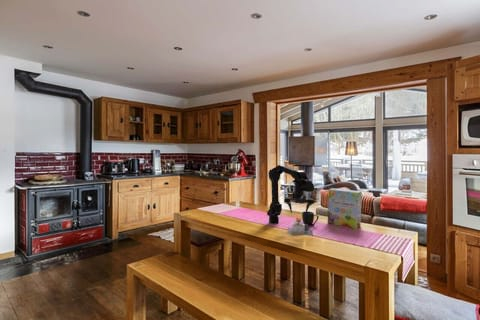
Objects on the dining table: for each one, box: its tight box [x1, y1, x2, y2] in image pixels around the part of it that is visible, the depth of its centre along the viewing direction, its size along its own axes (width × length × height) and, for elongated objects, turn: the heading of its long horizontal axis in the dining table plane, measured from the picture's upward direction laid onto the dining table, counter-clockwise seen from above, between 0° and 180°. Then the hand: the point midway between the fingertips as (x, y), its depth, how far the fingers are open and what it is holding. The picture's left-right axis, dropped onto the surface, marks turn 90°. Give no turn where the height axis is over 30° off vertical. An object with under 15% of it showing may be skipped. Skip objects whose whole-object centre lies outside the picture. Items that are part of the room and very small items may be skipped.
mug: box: [301, 210, 320, 227], centre depth 191 cm, size 8×12×10 cm
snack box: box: [327, 187, 363, 230], centre depth 195 cm, size 22×9×26 cm, turn 50°
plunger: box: [295, 217, 302, 224], centre depth 176 cm, size 5×5×8 cm
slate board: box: [286, 227, 314, 237], centre depth 175 cm, size 16×13×1 cm
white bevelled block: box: [291, 221, 309, 233], centre depth 175 cm, size 10×8×5 cm
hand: (298, 213), depth 176 cm, fingers open, 9 cm apart
